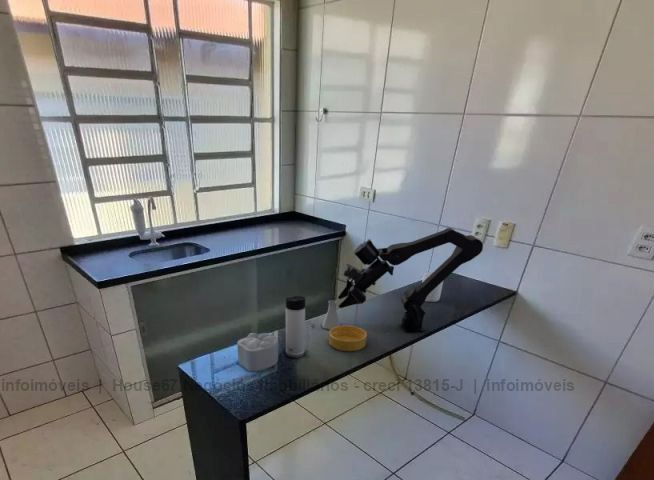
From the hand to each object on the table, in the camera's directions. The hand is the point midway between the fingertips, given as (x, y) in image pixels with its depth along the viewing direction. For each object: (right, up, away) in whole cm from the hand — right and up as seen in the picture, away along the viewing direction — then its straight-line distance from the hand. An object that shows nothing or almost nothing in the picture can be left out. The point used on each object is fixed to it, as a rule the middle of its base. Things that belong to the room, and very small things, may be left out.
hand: (339, 302), depth 151 cm
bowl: (+2, -16, -7) cm, 18 cm away
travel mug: (-16, -20, -13) cm, 29 cm away
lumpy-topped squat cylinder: (-28, -23, -18) cm, 40 cm away
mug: (+45, +8, +31) cm, 55 cm away
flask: (-2, -8, +5) cm, 10 cm away
